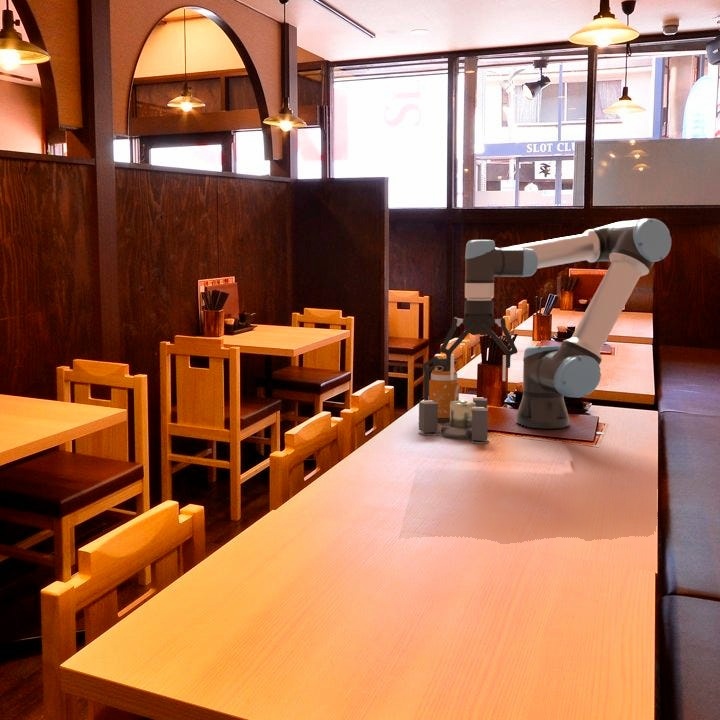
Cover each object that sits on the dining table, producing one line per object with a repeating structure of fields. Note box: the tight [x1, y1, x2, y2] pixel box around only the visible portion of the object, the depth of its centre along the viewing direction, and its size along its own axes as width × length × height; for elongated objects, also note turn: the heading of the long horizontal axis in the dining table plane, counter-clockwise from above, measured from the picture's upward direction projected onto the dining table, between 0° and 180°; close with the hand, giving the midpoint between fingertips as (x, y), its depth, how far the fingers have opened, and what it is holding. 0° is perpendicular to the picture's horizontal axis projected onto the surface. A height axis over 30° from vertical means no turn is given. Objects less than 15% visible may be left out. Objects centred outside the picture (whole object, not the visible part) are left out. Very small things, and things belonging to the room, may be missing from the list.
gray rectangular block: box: [472, 407, 489, 441], centre depth 205 cm, size 4×4×8 cm
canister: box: [421, 356, 460, 425], centre depth 230 cm, size 9×11×20 cm
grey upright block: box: [418, 400, 439, 433], centre depth 216 cm, size 4×4×8 cm
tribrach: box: [418, 399, 490, 445], centre depth 215 cm, size 19×22×10 cm
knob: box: [472, 396, 488, 408], centre depth 222 cm, size 4×4×8 cm
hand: (477, 379), depth 205 cm, fingers open, 13 cm apart
